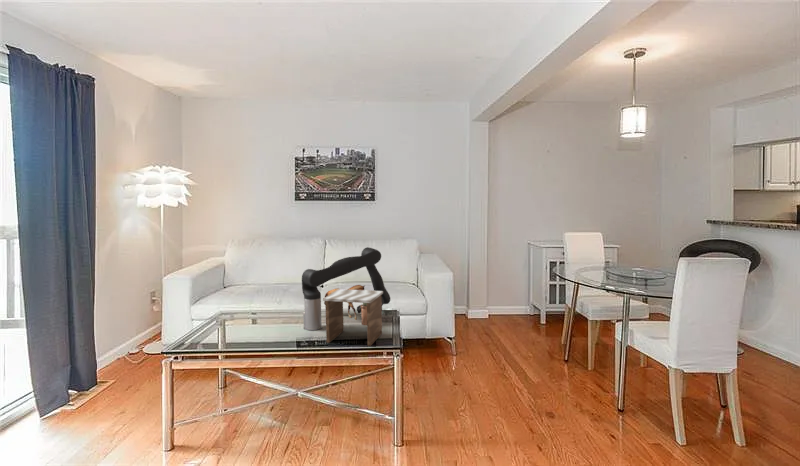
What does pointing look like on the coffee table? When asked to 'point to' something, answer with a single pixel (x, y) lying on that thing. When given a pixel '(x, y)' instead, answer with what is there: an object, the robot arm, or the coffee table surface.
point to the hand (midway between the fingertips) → (365, 312)
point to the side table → (361, 296)
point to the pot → (364, 313)
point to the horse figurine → (356, 287)
